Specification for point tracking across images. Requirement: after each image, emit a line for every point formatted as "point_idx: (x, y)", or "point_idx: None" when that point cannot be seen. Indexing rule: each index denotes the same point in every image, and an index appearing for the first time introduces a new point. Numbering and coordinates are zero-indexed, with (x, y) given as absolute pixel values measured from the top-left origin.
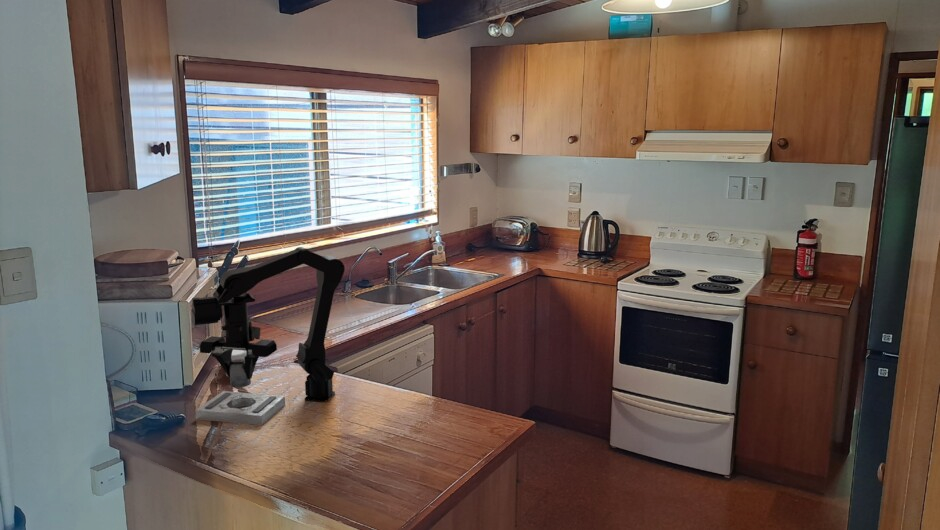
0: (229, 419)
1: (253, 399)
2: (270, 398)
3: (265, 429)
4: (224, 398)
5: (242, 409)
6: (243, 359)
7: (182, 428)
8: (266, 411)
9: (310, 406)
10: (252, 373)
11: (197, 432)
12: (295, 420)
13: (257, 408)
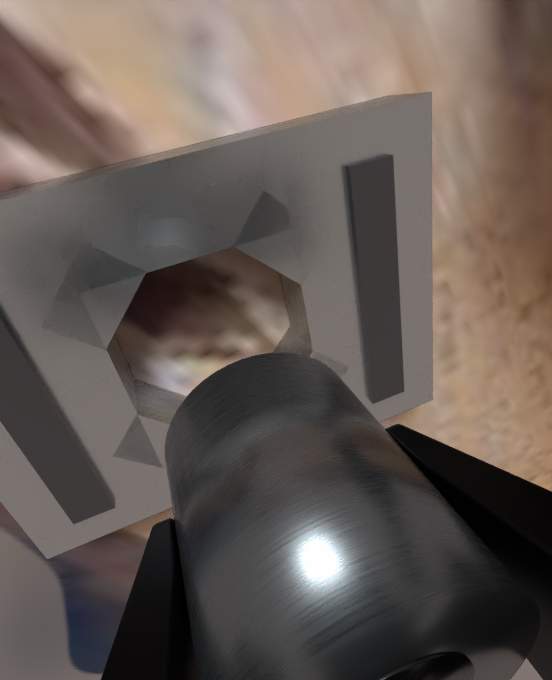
0: None
1: (237, 248)
2: (371, 205)
3: (433, 389)
4: (35, 371)
5: None
6: (392, 641)
7: (97, 579)
8: (431, 353)
9: (541, 44)
10: (446, 453)
11: None
12: (517, 258)
13: (380, 367)
